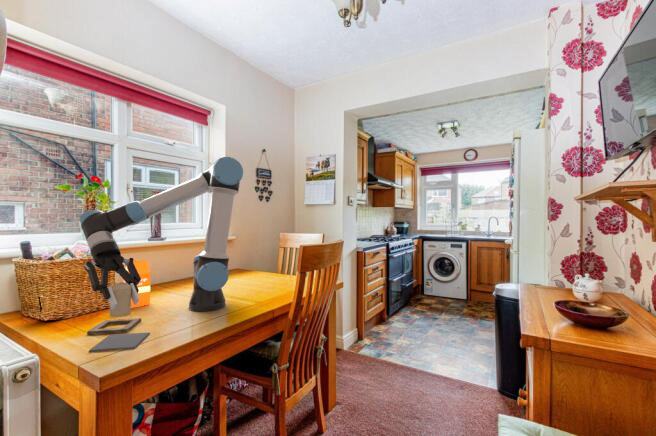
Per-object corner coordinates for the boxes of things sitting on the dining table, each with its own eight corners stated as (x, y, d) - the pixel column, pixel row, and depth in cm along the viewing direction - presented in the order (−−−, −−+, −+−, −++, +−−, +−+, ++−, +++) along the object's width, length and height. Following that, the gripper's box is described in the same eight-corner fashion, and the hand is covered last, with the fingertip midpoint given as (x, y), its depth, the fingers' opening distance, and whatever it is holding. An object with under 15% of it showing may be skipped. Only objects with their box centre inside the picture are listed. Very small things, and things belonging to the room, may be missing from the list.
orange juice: (150, 304, 138) (150, 260, 138) (128, 308, 132) (128, 262, 132) (144, 301, 143) (144, 259, 144) (122, 305, 137) (122, 260, 137)
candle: (107, 318, 91) (108, 285, 92) (111, 313, 96) (112, 281, 97) (128, 316, 94) (129, 283, 94) (132, 311, 99) (132, 280, 99)
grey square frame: (141, 321, 115) (141, 318, 115) (127, 332, 104) (127, 329, 104) (105, 323, 113) (105, 319, 113) (87, 335, 101) (87, 331, 101)
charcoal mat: (149, 334, 102) (149, 332, 102) (134, 348, 90) (134, 346, 90) (109, 336, 100) (109, 334, 100) (88, 352, 88) (89, 350, 88)
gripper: (130, 253, 111) (152, 304, 102) (66, 257, 96) (85, 319, 87) (137, 239, 109) (161, 291, 99) (72, 241, 93) (93, 303, 84)
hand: (126, 304), depth 93 cm, fingers closed on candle, 5 cm apart
